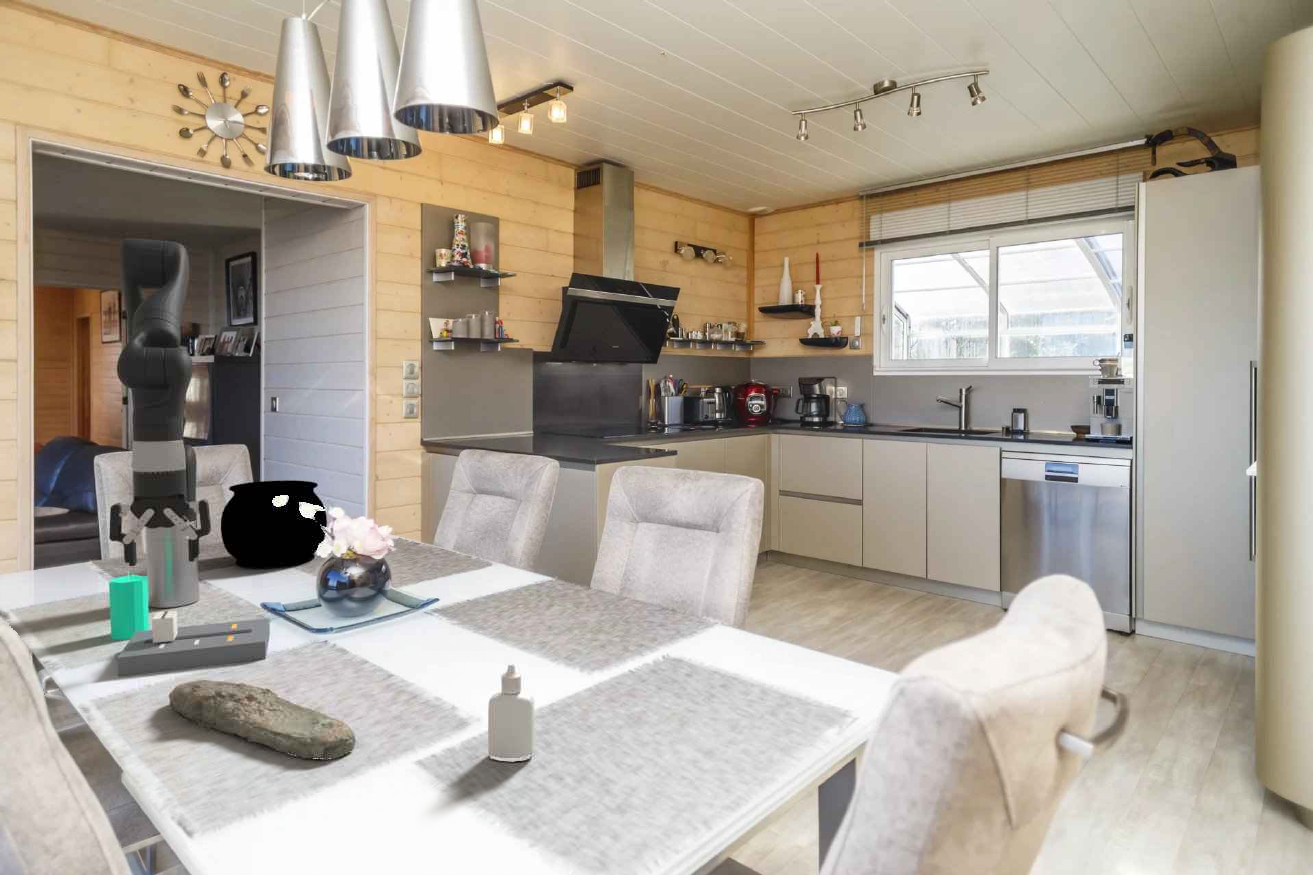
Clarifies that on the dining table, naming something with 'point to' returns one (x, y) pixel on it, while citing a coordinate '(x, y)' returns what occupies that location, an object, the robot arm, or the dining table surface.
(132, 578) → the candle
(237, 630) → the fader console
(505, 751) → the eye dropper bottle
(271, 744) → the long grey stone
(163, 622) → the fader
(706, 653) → the dining table surface
